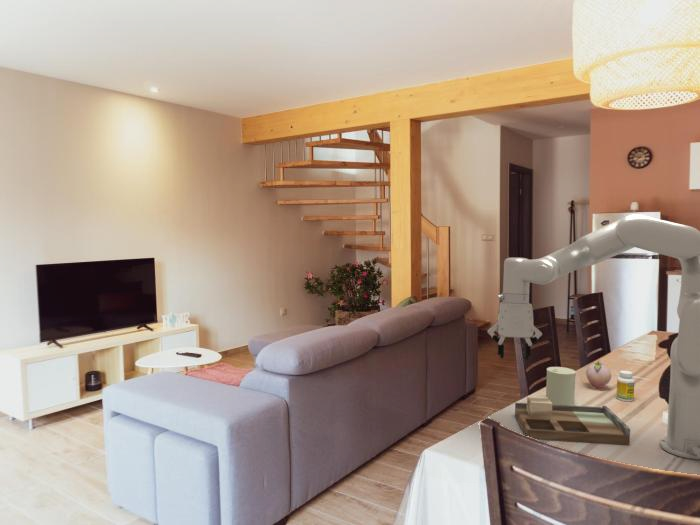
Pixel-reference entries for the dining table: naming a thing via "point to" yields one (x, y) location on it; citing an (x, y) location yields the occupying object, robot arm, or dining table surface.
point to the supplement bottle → (625, 386)
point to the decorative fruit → (598, 375)
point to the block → (539, 407)
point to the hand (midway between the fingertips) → (513, 357)
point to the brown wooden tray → (575, 425)
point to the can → (560, 385)
